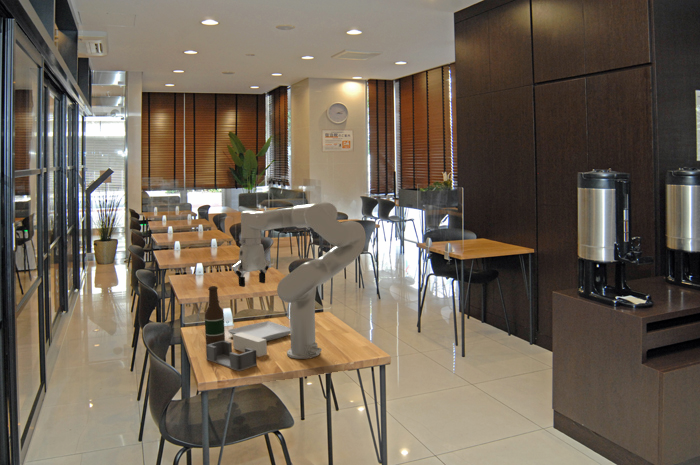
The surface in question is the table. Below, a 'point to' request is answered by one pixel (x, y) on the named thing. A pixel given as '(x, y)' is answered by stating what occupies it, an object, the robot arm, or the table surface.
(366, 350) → the table surface
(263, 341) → the beige rectangular block
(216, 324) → the beer bottle
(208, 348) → the endcap jig
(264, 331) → the salad plate
